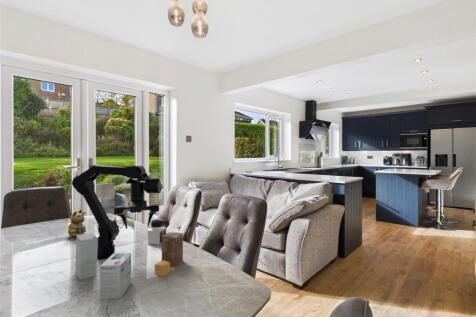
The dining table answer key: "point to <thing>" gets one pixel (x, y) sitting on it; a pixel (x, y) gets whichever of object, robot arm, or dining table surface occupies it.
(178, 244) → the brown rectangular block
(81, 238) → the skincare box
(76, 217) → the decorative figurine
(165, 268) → the orange cube
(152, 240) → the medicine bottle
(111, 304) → the dining table surface
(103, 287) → the light bulb box
